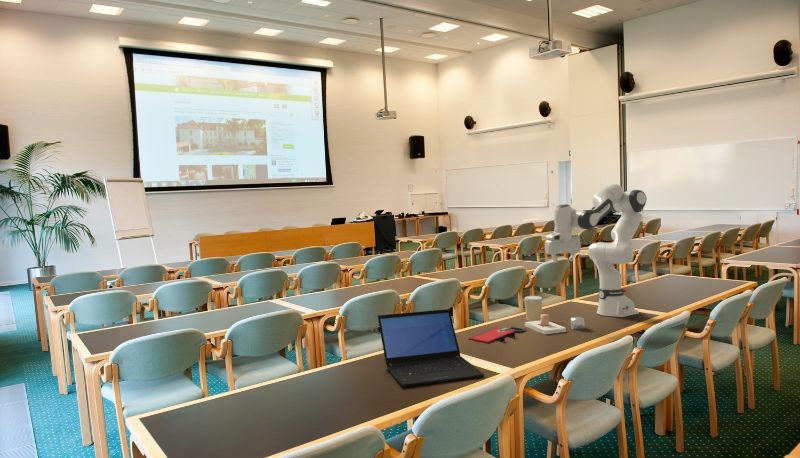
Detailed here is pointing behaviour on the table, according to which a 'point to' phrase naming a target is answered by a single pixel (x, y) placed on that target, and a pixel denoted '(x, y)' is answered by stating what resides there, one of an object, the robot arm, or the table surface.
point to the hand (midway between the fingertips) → (563, 261)
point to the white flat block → (545, 330)
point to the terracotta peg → (544, 320)
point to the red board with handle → (496, 334)
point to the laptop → (423, 348)
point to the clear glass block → (577, 323)
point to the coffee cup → (533, 308)
